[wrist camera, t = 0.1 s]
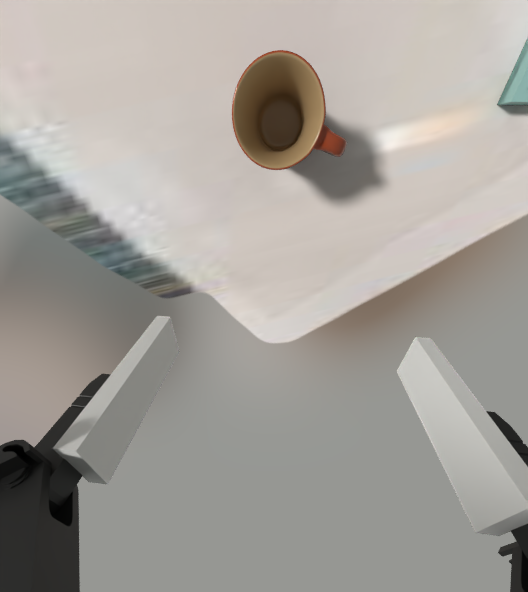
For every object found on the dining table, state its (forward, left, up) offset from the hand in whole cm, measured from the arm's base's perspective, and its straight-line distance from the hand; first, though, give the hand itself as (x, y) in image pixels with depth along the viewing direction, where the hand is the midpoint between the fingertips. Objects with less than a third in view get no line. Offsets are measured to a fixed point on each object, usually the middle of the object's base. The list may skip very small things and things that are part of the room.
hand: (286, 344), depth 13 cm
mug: (-11, 0, -28) cm, 30 cm away
